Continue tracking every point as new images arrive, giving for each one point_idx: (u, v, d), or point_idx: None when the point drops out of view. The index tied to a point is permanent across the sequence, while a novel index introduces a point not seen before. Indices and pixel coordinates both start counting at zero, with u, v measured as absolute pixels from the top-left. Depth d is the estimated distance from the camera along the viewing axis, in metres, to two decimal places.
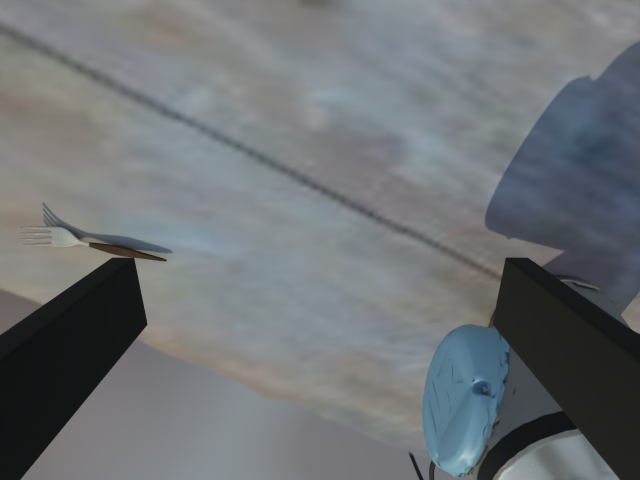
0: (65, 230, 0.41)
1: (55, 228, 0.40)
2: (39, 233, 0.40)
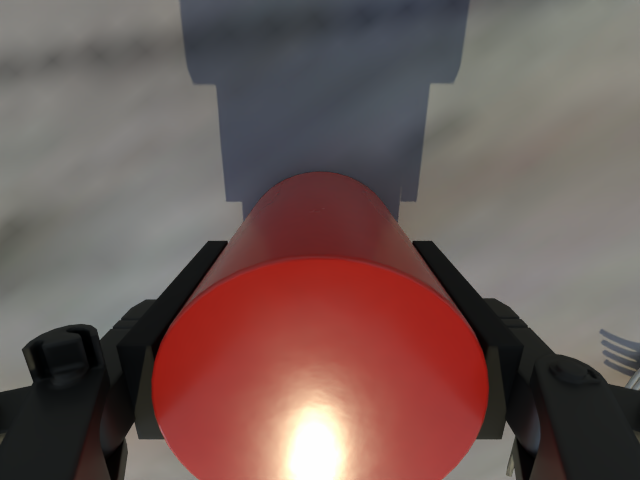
0: None
1: None
2: None
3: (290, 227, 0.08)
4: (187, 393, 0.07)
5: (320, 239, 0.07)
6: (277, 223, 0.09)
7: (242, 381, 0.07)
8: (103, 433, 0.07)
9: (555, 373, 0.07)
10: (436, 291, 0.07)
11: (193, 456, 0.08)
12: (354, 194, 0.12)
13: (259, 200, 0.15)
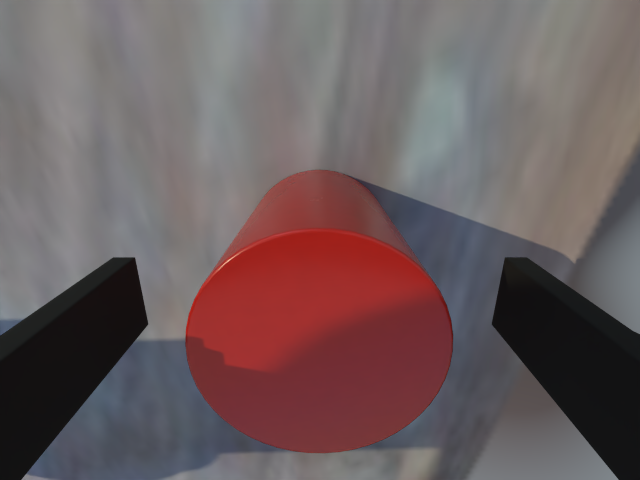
0: None
1: None
2: None
3: (295, 210, 0.10)
4: (214, 341, 0.09)
5: (319, 218, 0.09)
6: (284, 209, 0.10)
7: (257, 332, 0.09)
8: None
9: None
10: (409, 257, 0.08)
11: (217, 396, 0.10)
12: (348, 188, 0.14)
13: (265, 195, 0.17)
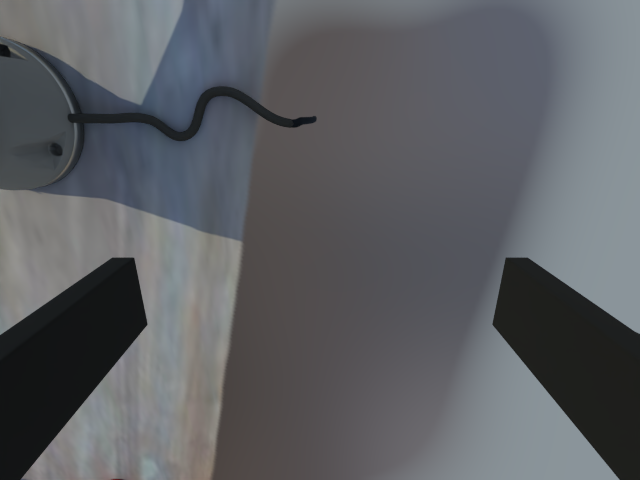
0: None
1: None
2: None
3: None
4: None
5: None
6: None
7: None
8: None
9: None
10: None
11: None
12: None
13: None
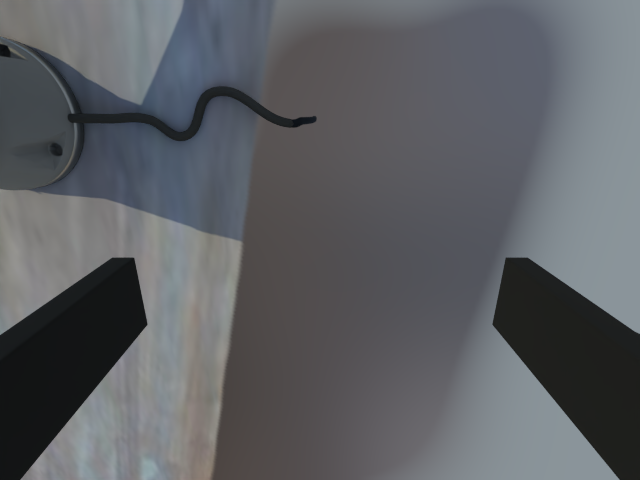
0: None
1: None
2: None
3: None
4: None
5: None
6: None
7: None
8: None
9: None
10: None
11: None
12: None
13: None
